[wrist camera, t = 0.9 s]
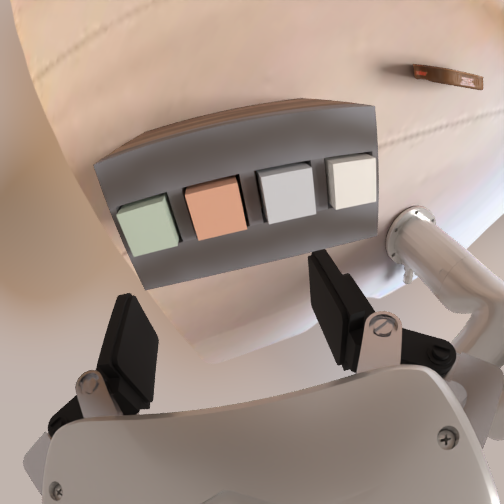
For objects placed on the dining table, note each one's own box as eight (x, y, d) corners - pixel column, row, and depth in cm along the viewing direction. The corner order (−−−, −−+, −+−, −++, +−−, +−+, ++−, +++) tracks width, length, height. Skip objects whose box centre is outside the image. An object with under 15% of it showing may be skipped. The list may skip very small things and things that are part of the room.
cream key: (363, 191, 24) (376, 201, 22) (325, 199, 24) (336, 209, 22) (361, 151, 22) (375, 158, 20) (321, 156, 22) (332, 164, 20)
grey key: (306, 202, 24) (316, 213, 22) (263, 212, 24) (269, 224, 22) (301, 160, 22) (311, 167, 20) (255, 169, 22) (260, 177, 20)
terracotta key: (243, 216, 24) (247, 229, 22) (199, 227, 23) (198, 240, 21) (234, 173, 22) (237, 182, 20) (187, 185, 21) (184, 195, 19)
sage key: (180, 231, 23) (177, 245, 21) (139, 242, 23) (133, 257, 21) (166, 190, 21) (162, 201, 19) (124, 203, 21) (116, 214, 19)
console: (312, 176, 41) (377, 235, 25) (168, 209, 40) (145, 290, 24) (302, 98, 35) (374, 106, 18) (144, 132, 34) (93, 164, 18)
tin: (459, 71, 33) (491, 76, 25) (460, 87, 34) (493, 93, 27) (402, 62, 32) (436, 62, 25) (404, 80, 34) (439, 83, 27)
